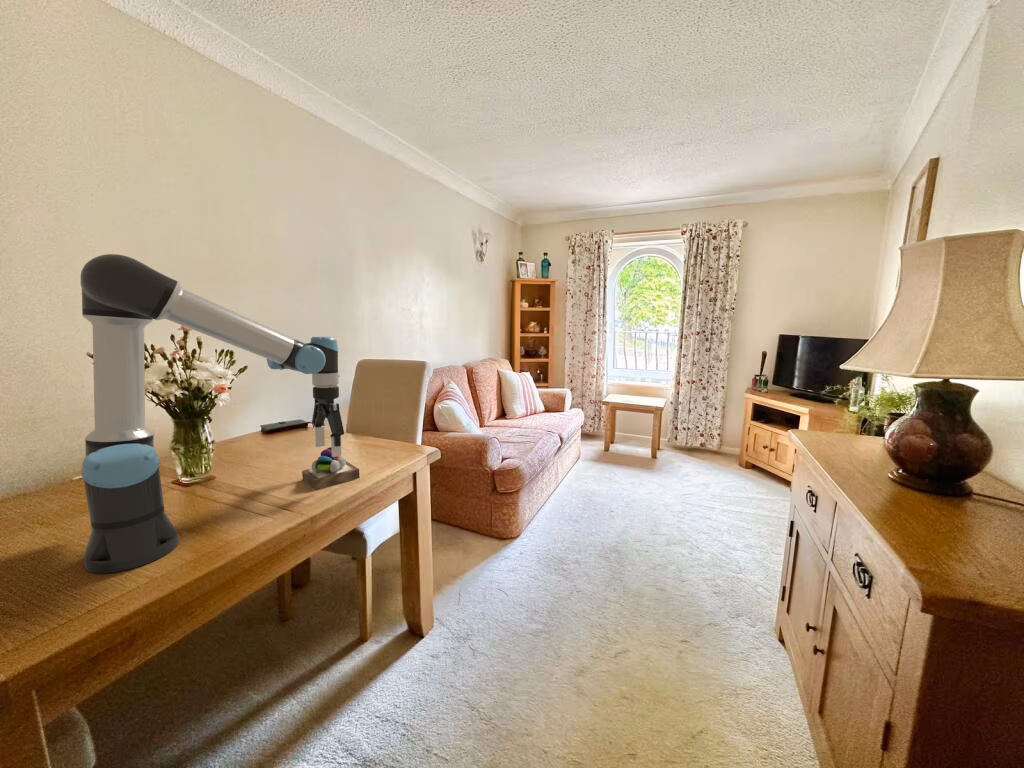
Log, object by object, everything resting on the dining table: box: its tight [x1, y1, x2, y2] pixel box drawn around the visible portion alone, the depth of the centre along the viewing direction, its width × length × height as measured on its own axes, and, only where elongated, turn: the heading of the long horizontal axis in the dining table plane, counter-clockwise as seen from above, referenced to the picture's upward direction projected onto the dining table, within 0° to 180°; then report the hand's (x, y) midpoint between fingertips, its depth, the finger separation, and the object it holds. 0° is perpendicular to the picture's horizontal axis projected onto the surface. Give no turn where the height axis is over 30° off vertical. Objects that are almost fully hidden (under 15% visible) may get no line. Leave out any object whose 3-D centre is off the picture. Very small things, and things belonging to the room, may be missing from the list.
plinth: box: [301, 461, 360, 490], centre depth 133 cm, size 14×11×3 cm
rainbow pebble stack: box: [311, 446, 347, 473], centre depth 132 cm, size 8×10×7 cm
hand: (328, 451), depth 131 cm, fingers open, 13 cm apart
